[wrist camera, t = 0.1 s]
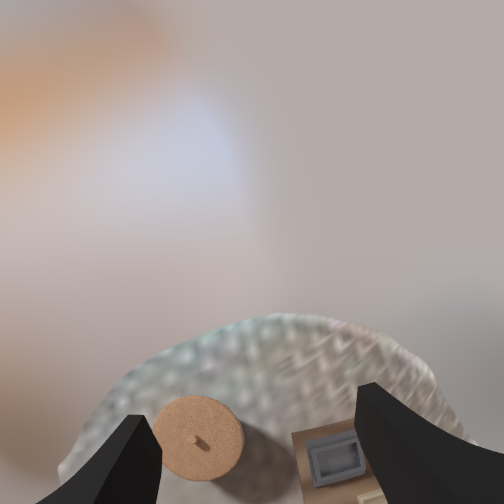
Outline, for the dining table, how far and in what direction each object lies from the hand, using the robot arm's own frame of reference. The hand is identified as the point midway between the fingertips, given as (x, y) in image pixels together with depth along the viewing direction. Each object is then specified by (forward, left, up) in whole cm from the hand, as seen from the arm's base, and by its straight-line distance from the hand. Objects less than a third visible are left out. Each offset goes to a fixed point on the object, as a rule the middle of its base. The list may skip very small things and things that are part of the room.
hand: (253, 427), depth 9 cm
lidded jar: (-1, +8, -32) cm, 33 cm away
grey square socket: (-7, -8, -32) cm, 34 cm away
